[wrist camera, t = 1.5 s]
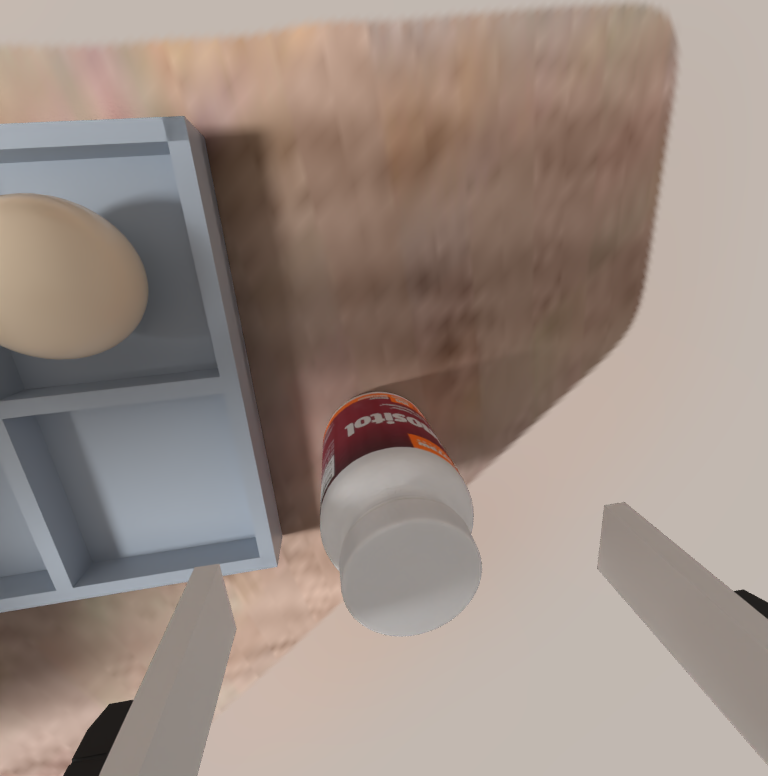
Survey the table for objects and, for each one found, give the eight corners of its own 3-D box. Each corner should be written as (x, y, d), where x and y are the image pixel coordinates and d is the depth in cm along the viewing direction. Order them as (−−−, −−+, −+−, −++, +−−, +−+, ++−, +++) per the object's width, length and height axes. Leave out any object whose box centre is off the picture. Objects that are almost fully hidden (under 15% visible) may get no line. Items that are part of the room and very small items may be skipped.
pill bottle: (437, 395, 23) (530, 507, 12) (415, 488, 24) (481, 655, 14) (330, 380, 21) (333, 490, 11) (315, 479, 23) (305, 654, 13)
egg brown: (51, 349, 18) (-72, 388, 13) (2, 210, 16) (-169, 182, 11) (184, 336, 19) (124, 367, 13) (151, 201, 17) (64, 169, 11)
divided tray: (-108, 597, 22) (-163, 639, 19) (-372, 164, 15) (-509, 145, 13) (282, 535, 24) (277, 566, 22) (204, 137, 17) (184, 115, 15)
